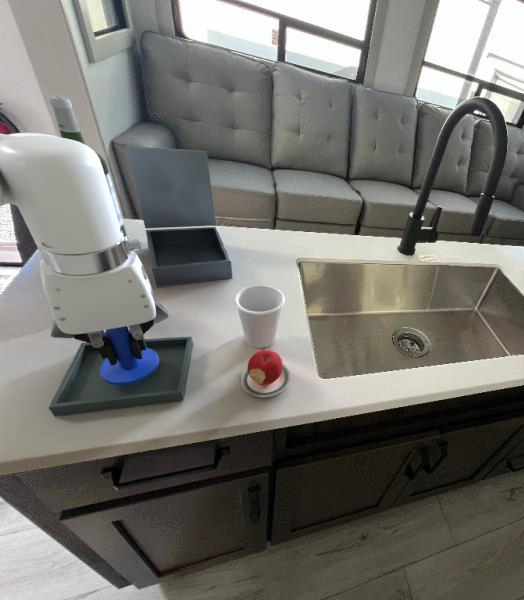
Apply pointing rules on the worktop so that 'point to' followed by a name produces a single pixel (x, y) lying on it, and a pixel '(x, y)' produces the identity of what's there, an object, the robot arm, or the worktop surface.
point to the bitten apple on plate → (265, 374)
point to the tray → (103, 396)
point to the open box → (187, 256)
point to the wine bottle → (79, 140)
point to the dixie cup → (260, 314)
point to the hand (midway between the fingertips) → (126, 354)
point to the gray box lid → (172, 187)
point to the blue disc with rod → (127, 360)
